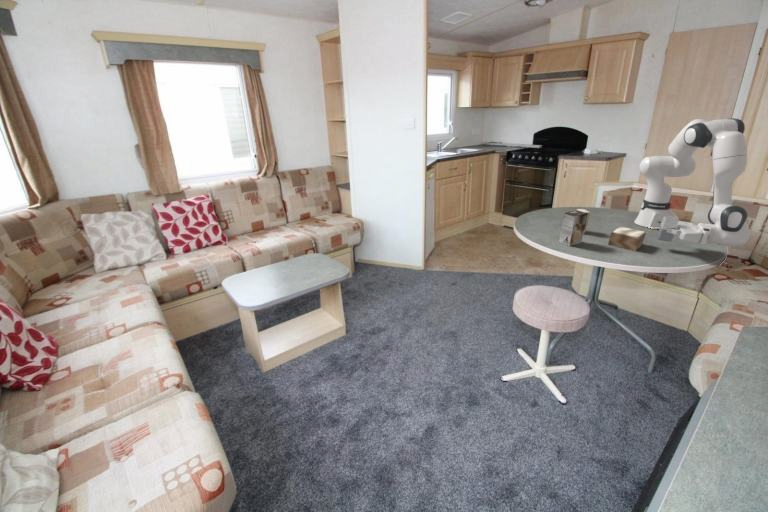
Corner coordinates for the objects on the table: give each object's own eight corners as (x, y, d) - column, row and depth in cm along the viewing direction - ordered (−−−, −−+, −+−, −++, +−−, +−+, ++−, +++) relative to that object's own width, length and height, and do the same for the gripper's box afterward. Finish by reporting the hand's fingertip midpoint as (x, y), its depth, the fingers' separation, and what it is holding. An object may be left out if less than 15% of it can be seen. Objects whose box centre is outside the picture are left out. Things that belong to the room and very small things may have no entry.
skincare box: (571, 229, 202) (576, 208, 197) (578, 229, 202) (583, 208, 197) (577, 233, 196) (582, 212, 191) (585, 233, 196) (590, 212, 191)
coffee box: (570, 239, 188) (576, 209, 182) (581, 243, 183) (588, 213, 177) (558, 242, 185) (564, 212, 178) (569, 246, 179) (576, 215, 173)
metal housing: (669, 238, 175) (676, 216, 171) (671, 241, 171) (679, 219, 166) (657, 236, 177) (664, 215, 173) (658, 240, 173) (665, 218, 169)
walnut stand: (642, 244, 181) (646, 231, 179) (635, 251, 174) (639, 237, 171) (615, 238, 189) (619, 226, 187) (608, 244, 182) (611, 231, 179)
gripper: (698, 219, 173) (663, 215, 179) (710, 233, 157) (671, 228, 163) (694, 232, 176) (659, 227, 182) (705, 246, 159) (667, 241, 165)
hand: (665, 228), depth 172 cm, fingers closed on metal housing, 5 cm apart
